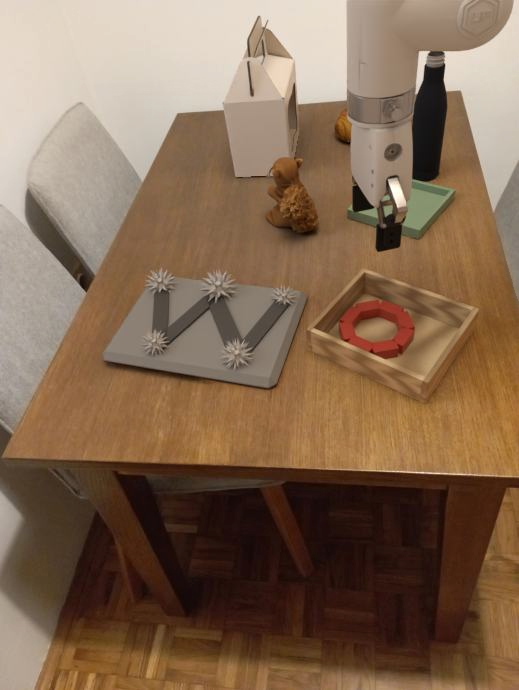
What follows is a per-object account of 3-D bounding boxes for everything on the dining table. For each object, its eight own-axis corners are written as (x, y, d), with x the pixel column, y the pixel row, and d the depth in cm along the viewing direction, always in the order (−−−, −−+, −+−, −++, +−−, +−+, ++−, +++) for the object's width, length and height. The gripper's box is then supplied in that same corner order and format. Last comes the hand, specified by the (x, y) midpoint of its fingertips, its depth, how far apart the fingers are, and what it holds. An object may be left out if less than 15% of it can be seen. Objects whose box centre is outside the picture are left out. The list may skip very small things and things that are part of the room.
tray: (454, 198, 106) (455, 189, 105) (418, 239, 99) (419, 230, 97) (385, 181, 114) (385, 172, 113) (347, 218, 106) (346, 209, 105)
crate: (473, 333, 81) (479, 308, 77) (424, 407, 73) (428, 383, 69) (362, 291, 91) (362, 267, 87) (308, 352, 83) (305, 329, 79)
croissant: (331, 136, 136) (326, 106, 130) (389, 116, 134) (386, 84, 129) (347, 161, 125) (342, 129, 120) (410, 139, 124) (408, 106, 119)
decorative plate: (101, 365, 87) (86, 335, 82) (156, 281, 100) (145, 251, 95) (275, 394, 78) (270, 363, 73) (309, 298, 91) (307, 266, 86)
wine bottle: (406, 180, 113) (419, 24, 91) (409, 165, 117) (422, 12, 95) (437, 182, 111) (458, 23, 90) (439, 166, 115) (460, 11, 94)
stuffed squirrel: (305, 199, 113) (300, 141, 103) (333, 233, 103) (331, 172, 94) (261, 213, 112) (253, 155, 102) (286, 248, 102) (280, 188, 92)
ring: (424, 325, 83) (425, 315, 81) (390, 370, 77) (391, 361, 76) (363, 301, 88) (363, 292, 87) (327, 342, 83) (326, 333, 81)
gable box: (291, 176, 120) (279, 42, 100) (235, 178, 123) (212, 48, 103) (300, 131, 135) (291, 7, 115) (249, 134, 138) (232, 13, 117)
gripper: (444, 126, 54) (427, 259, 66) (385, 69, 66) (379, 191, 78) (373, 141, 53) (369, 272, 66) (327, 81, 65) (330, 201, 78)
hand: (375, 228), depth 72 cm, fingers open, 9 cm apart
